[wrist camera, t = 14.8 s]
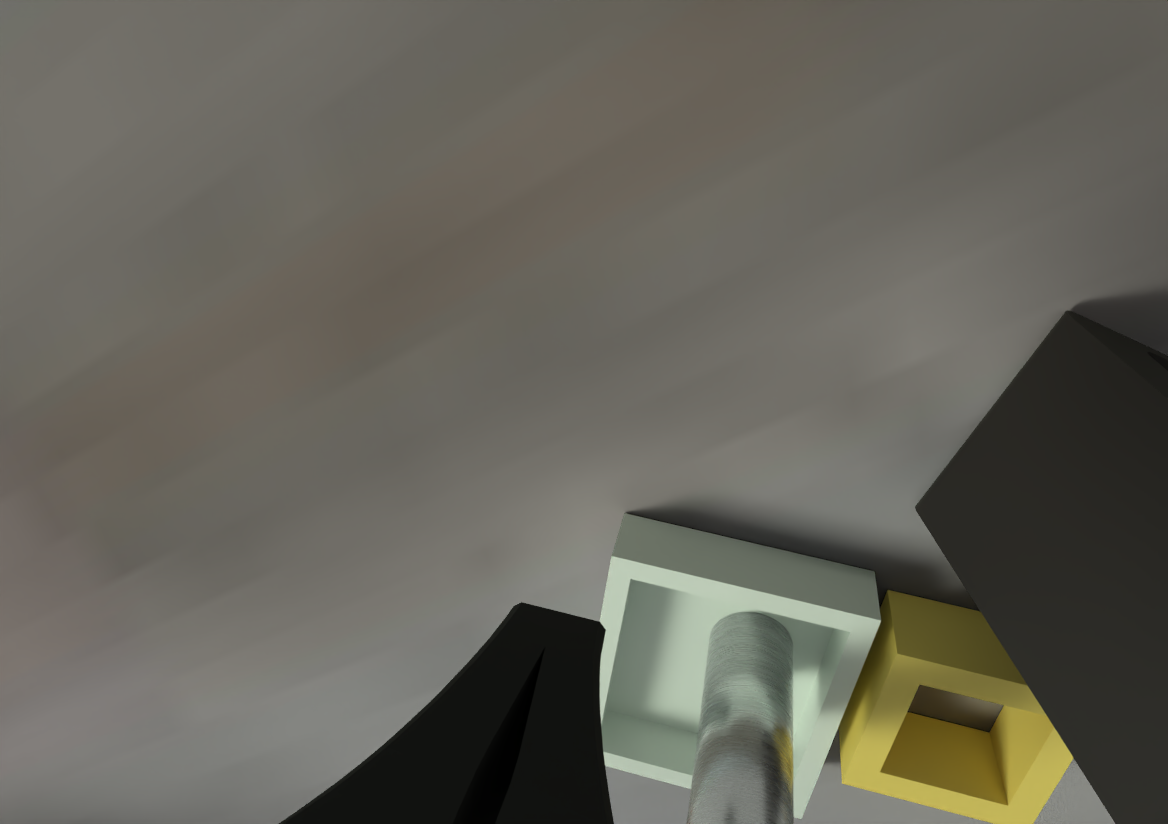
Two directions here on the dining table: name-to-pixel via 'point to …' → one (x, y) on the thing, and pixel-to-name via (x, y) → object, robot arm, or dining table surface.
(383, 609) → the dining table surface
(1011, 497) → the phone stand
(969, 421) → the dining table surface
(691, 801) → the stop pin
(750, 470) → the dining table surface
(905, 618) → the pin socket
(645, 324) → the dining table surface
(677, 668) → the tray
